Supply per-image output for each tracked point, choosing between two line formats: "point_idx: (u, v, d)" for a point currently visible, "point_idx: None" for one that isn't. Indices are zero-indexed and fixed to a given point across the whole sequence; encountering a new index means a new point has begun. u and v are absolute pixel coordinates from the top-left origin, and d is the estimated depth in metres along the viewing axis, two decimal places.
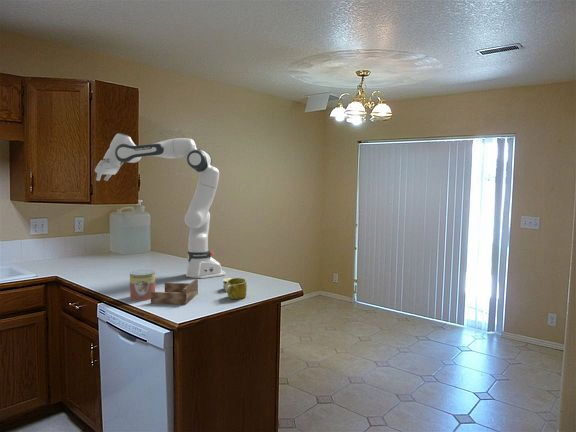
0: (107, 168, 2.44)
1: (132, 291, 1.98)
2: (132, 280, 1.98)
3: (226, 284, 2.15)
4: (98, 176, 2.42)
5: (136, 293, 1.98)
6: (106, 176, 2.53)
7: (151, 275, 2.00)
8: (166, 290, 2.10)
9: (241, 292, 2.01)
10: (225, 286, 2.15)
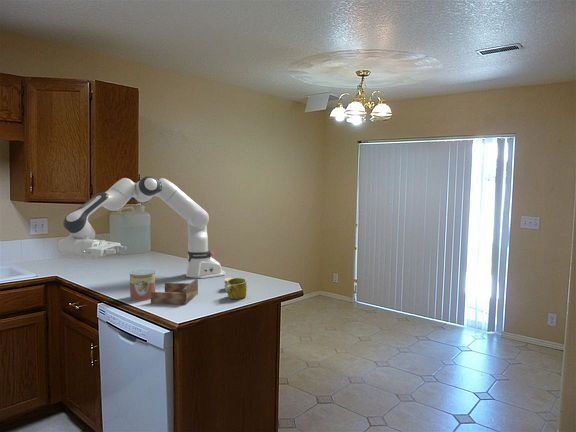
0: (99, 247, 1.99)
1: (132, 291, 1.98)
2: (132, 280, 1.98)
3: None
4: (109, 251, 1.97)
5: (136, 293, 1.98)
6: None
7: (151, 275, 2.00)
8: (166, 290, 2.10)
9: (241, 292, 2.01)
10: None
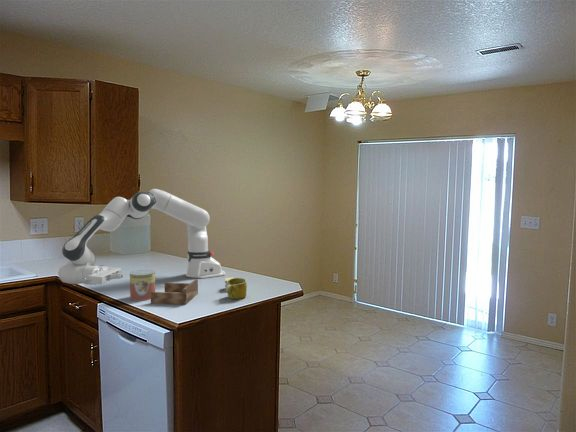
0: (99, 273, 2.00)
1: (132, 291, 1.98)
2: (132, 280, 1.98)
3: None
4: (114, 276, 2.01)
5: (136, 293, 1.98)
6: None
7: (151, 275, 2.00)
8: (166, 290, 2.10)
9: (241, 292, 2.01)
10: None
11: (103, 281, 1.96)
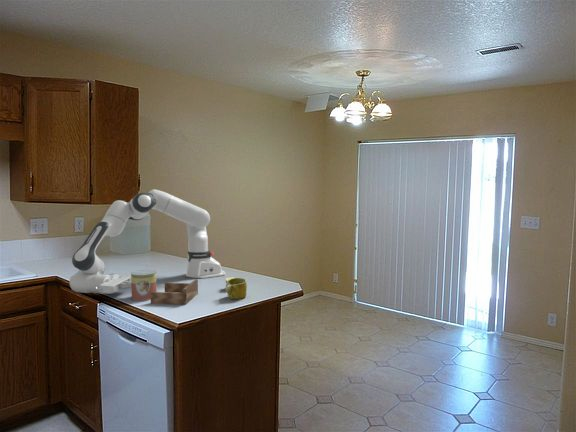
0: (110, 282, 2.00)
1: (133, 291, 1.98)
2: (133, 280, 1.98)
3: None
4: (125, 285, 2.01)
5: (137, 293, 1.98)
6: None
7: (152, 275, 2.00)
8: (166, 290, 2.10)
9: (241, 292, 2.01)
10: None
11: (115, 290, 1.96)
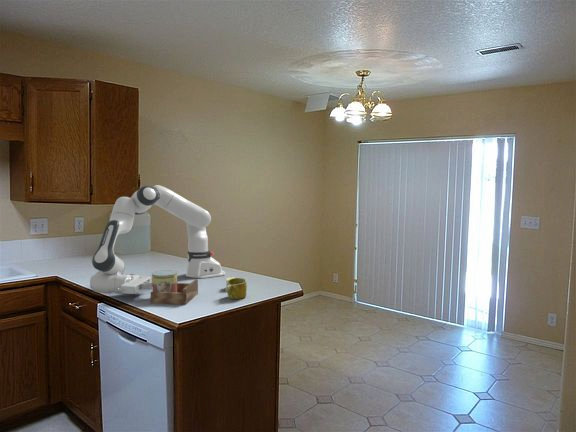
0: (132, 283, 1.99)
1: None
2: (154, 281, 1.97)
3: None
4: (146, 285, 2.01)
5: None
6: None
7: (173, 276, 1.99)
8: None
9: (241, 292, 2.01)
10: None
11: (136, 291, 1.95)
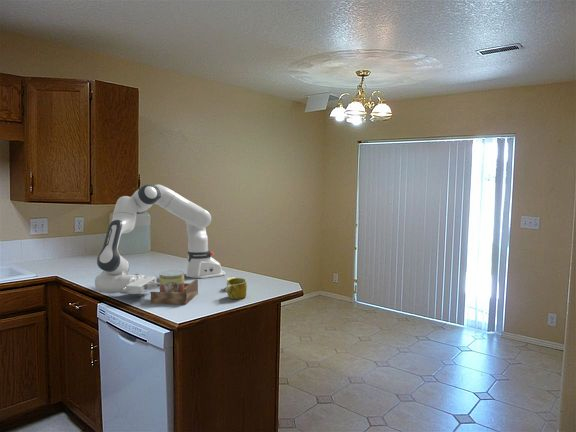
0: (137, 283, 1.99)
1: None
2: (162, 281, 1.97)
3: None
4: (151, 285, 2.00)
5: None
6: None
7: (181, 276, 1.98)
8: None
9: (241, 292, 2.01)
10: None
11: (141, 290, 1.95)
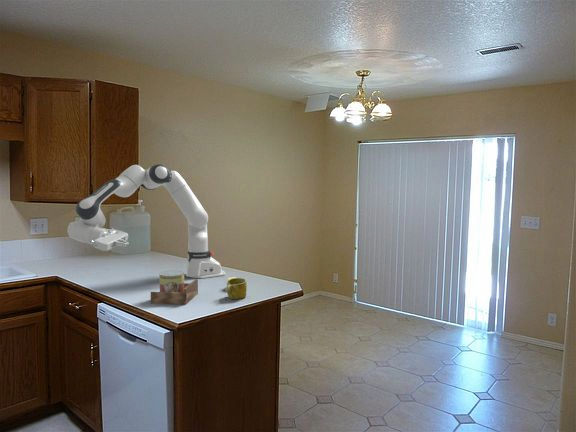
0: (106, 239, 2.02)
1: None
2: (162, 281, 1.97)
3: None
4: (119, 244, 2.04)
5: None
6: None
7: (181, 276, 1.98)
8: None
9: (241, 292, 2.01)
10: None
11: (108, 248, 1.98)
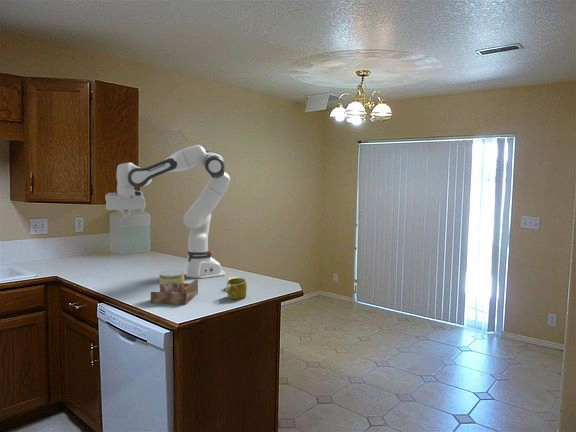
0: (118, 202, 2.32)
1: None
2: (162, 281, 1.97)
3: None
4: (122, 213, 2.34)
5: None
6: (128, 213, 2.36)
7: (181, 276, 1.98)
8: None
9: (241, 292, 2.01)
10: None
11: None
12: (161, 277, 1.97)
